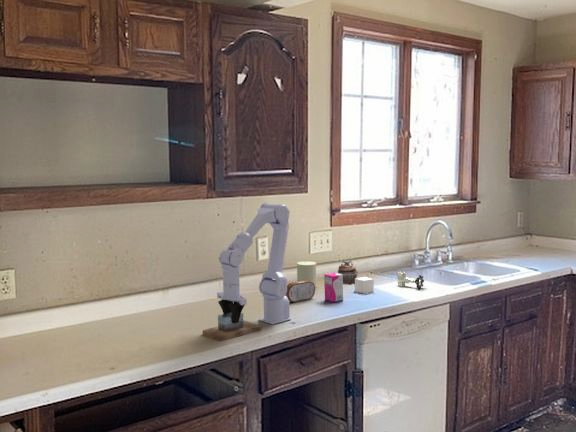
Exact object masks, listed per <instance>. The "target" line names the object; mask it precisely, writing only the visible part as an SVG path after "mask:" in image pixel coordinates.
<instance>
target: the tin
mask: <svg viewBox="0 0 576 432" xmlns="http://www.w3.org/2000/svg"><path fill="white" fill-rule="evenodd" d="M315 293H316V288H315V285H314V283H312V282H311V281H309V280H303V281H297V280H295V281H291V282H289V283H288V284H287V293H286V295H285V296H286V297H287V298H288V300H289V302H292V303H298V302H303V301H308V300H311V299H312V298H313V297H314V296H315Z"/></svg>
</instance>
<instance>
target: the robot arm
mask: <svg viewBox="0 0 576 432" xmlns="http://www.w3.org/2000/svg"><path fill="white" fill-rule="evenodd" d="M289 219H290V210H289V208H288V207H287V205H286V204H284V203H270V202H264V203H262V204H261V205H260V207H259V208H258V209H257V214H256V215H255V217H254V218H253V219H252V221H251V223H250V224H249V225H248V227H246V230H245V232H239V233H237V234H236V235H235V236H236V237H235V238H234V240H233V241H232V242H231V244H229V245H228V246H227V248H225V249H223V250H221V253H220V254H219V257H218V261H219V263H220V264H221V269H222V290H223V291H218V292H216V296H217V298H218V299H220V300H218V305H219V307H220V308H221V310H222V313H223V314H226V313H232V321H233V323H238V322H239V319H240V315H241V313H243V312H242V311H243V309H244V308H245V306H246V305H247V298H246V297H243V295H241V294H240V292H241V291H240V265H241V264H242V263H243V260H244V257H245V253H246V252H247V251H248V250H249V248H250V247H251V246H252V245H253V242H254V239H253V238H254V237H255V236H256V235H257V234H258V233H259V232H260V231H261V230H262V228H263V227H264V226H265V225H267V224H269V225H270V226H271V227H272V229H273V233H272V237H271V238H272V239H271V245H270V246H271V247H270V253H269V260H268V266H267V270H266V271H265V272H264V273H263V274H262V278H261V280H260V281H259V285H258V290H259V292H260V293H261V294H262V297H263V317H261V318H259V319H258V320H259V321H261V322H263V323H268V324H271V325H274V324H279V323H282V322H287V321H290V320H292V318H291V317H290V301H289V300H288V298H287V297H286V296H285V295H286V293H287V285H288V284H287V283H288V282H287V281H288V278H287V277H286V275H285V274H284V273H283V269H284V262H285V255H286V247H287V243H288V241H287V240H288V233H289V227H290V224H289Z"/></svg>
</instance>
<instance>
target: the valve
mask: <svg viewBox="0 0 576 432" xmlns="http://www.w3.org/2000/svg"><path fill="white" fill-rule="evenodd" d="M396 279H397V286H398V287H401V288H403V287H406V284H410V283H411V284H415V285H416V288H417V289H419V290H421V289H422V287H424V283H425V280H424V275H422V274H418V277H417V276H416V279H415V278H410V276H406V272H405V271H398V272H397V278H396Z"/></svg>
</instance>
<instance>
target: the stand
mask: <svg viewBox="0 0 576 432" xmlns="http://www.w3.org/2000/svg"><path fill="white" fill-rule="evenodd" d="M261 330H262V326H261V325H259V324H256V323H253V322H250V321H248V320H245V319H243V328H239V329H235V330H231V331H227V332H224V331H221V330H218V326H214V327H210V328H206V329H203V330H202V335H203V336H205V337H209V338H211V339H213V340H215V341H218V342H222V341H225V340H229V339H233V338H236V336H237V337H240V336H244V335H247V334H251V333H255V332H259V331H261ZM232 337H233V338H232ZM228 338H229V339H228Z"/></svg>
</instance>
